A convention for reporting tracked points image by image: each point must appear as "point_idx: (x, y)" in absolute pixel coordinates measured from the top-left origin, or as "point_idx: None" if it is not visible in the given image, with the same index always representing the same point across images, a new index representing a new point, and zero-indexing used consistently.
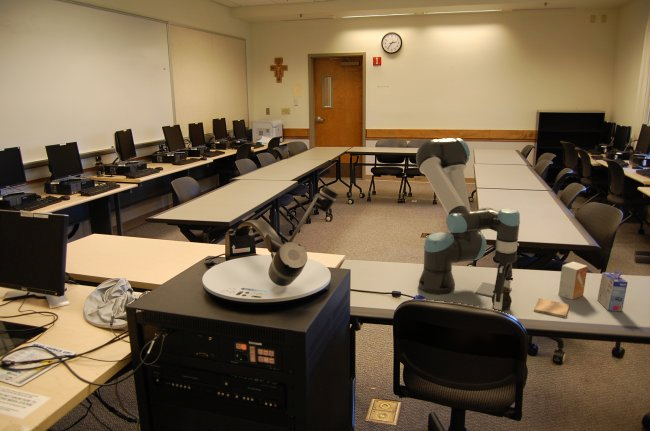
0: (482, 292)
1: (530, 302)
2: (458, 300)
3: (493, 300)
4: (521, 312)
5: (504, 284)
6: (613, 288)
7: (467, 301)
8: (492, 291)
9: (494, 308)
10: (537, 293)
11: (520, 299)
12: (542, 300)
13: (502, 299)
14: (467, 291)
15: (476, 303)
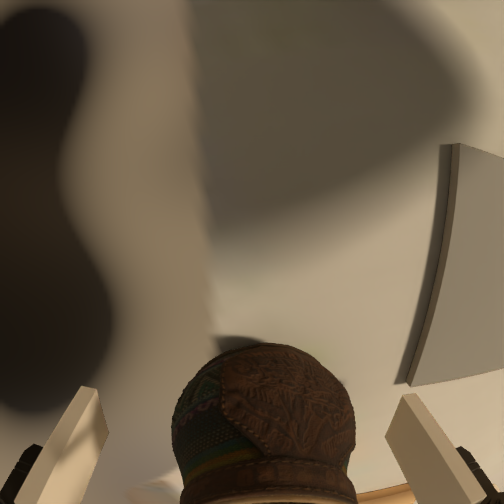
0: (473, 205)
1: (394, 471)
2: (232, 16)
3: (196, 390)
4: None
5: (443, 482)
6: None
7: (250, 91)
8: (499, 276)
9: (81, 391)
10: (484, 448)
11: None
12: (405, 499)
13: (81, 497)
14: (457, 77)
15: (244, 184)
